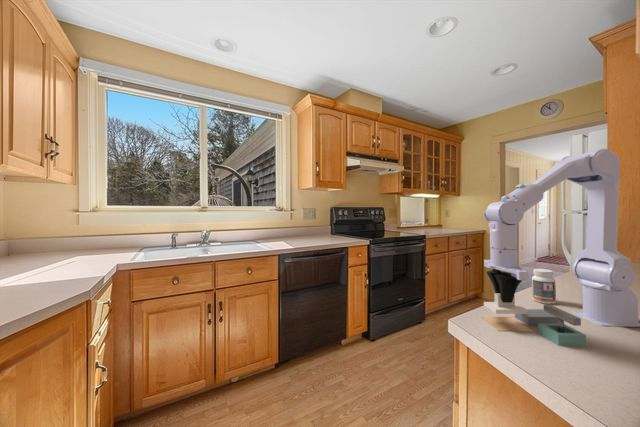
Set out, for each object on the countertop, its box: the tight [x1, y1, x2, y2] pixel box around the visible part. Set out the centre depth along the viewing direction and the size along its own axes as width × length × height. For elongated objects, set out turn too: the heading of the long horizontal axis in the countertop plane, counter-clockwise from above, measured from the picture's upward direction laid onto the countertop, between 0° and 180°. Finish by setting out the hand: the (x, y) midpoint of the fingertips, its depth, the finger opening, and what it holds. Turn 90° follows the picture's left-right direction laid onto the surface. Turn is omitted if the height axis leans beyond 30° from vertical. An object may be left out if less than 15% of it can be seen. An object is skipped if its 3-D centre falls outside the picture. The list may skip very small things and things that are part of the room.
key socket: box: [536, 323, 589, 347], centre depth 58 cm, size 6×6×2 cm
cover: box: [483, 292, 528, 315], centre depth 66 cm, size 7×5×4 cm
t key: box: [542, 303, 582, 333], centre depth 58 cm, size 8×2×6 cm, turn 175°
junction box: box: [514, 308, 558, 327], centre depth 67 cm, size 7×5×2 cm
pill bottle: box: [531, 268, 557, 305], centre depth 81 cm, size 6×6×10 cm
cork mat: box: [480, 316, 534, 332], centre depth 66 cm, size 8×8×1 cm
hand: (504, 300), depth 66 cm, fingers closed on cover
